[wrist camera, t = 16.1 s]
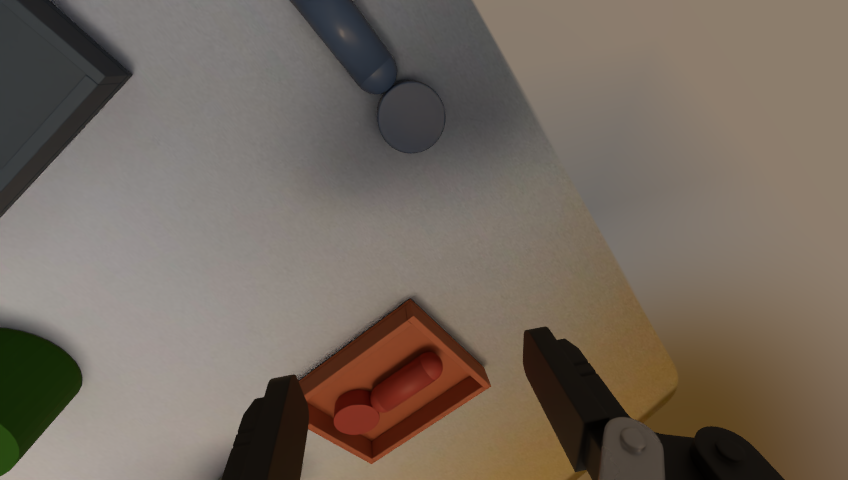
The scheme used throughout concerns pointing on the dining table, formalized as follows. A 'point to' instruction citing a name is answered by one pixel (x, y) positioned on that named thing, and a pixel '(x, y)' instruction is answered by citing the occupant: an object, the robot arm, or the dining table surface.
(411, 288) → the dining table surface
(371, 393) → the red spoon
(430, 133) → the blue spoon
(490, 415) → the dining table surface
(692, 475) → the robot arm
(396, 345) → the red tray
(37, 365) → the candle
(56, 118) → the dark grey tray
